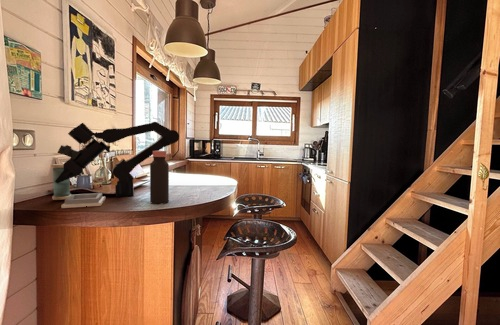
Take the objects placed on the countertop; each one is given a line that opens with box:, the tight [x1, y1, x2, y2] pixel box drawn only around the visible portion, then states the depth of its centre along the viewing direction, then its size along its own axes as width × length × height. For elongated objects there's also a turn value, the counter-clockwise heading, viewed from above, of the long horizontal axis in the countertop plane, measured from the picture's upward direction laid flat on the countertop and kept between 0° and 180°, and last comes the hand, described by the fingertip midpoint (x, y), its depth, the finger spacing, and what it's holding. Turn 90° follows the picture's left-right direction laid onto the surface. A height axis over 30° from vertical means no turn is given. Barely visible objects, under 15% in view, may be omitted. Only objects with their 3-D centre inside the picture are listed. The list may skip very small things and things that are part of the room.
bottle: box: [149, 150, 170, 205], centre depth 99 cm, size 7×7×20 cm
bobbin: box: [50, 163, 72, 201], centre depth 99 cm, size 6×6×13 cm
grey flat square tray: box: [61, 192, 106, 209], centre depth 95 cm, size 12×12×2 cm
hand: (57, 181), depth 98 cm, fingers closed on bobbin, 5 cm apart
